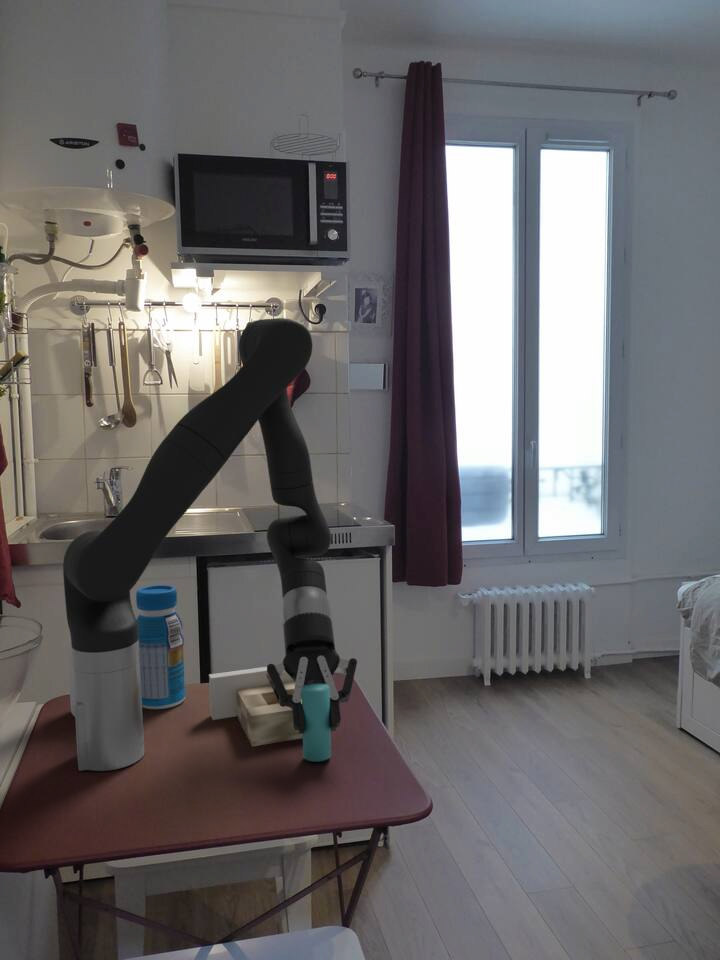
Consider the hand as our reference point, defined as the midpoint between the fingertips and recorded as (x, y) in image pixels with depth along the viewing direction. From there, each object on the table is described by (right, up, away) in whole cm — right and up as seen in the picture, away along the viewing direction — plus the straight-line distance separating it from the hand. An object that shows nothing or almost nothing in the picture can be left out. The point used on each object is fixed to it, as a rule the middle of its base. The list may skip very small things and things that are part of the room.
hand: (318, 729), depth 111 cm
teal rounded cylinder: (0, -4, +2) cm, 5 cm away
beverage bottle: (-29, -4, +26) cm, 39 cm away
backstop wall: (-9, -3, +22) cm, 24 cm away
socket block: (-7, -4, +15) cm, 17 cm away
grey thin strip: (-39, -4, +23) cm, 45 cm away
